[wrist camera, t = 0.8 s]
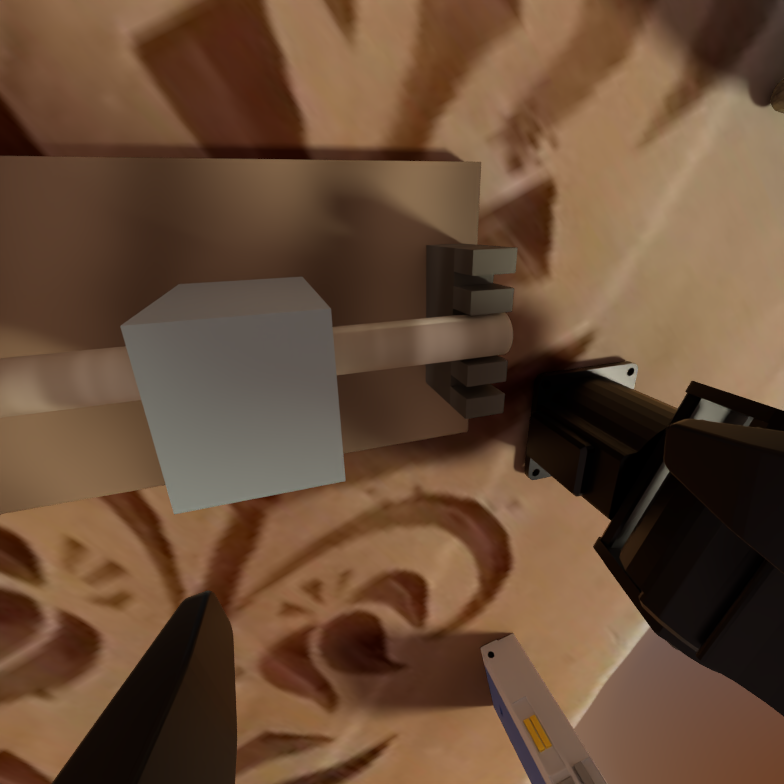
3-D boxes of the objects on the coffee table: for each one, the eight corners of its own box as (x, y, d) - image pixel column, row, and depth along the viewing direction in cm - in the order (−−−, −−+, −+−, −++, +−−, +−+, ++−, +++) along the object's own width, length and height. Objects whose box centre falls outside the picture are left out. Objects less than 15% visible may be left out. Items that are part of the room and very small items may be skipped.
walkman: (523, 690, 33) (649, 910, 22) (493, 706, 33) (607, 938, 22) (513, 629, 30) (656, 855, 19) (479, 646, 29) (607, 887, 19)
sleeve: (302, 276, 14) (330, 308, 9) (314, 391, 16) (345, 481, 10) (178, 283, 13) (120, 325, 8) (205, 406, 15) (174, 514, 9)
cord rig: (469, 165, 17) (575, 133, 11) (459, 423, 22) (531, 493, 16) (-413, 156, 10) (-1216, 70, 5) (-159, 528, 15) (-412, 710, 9)
